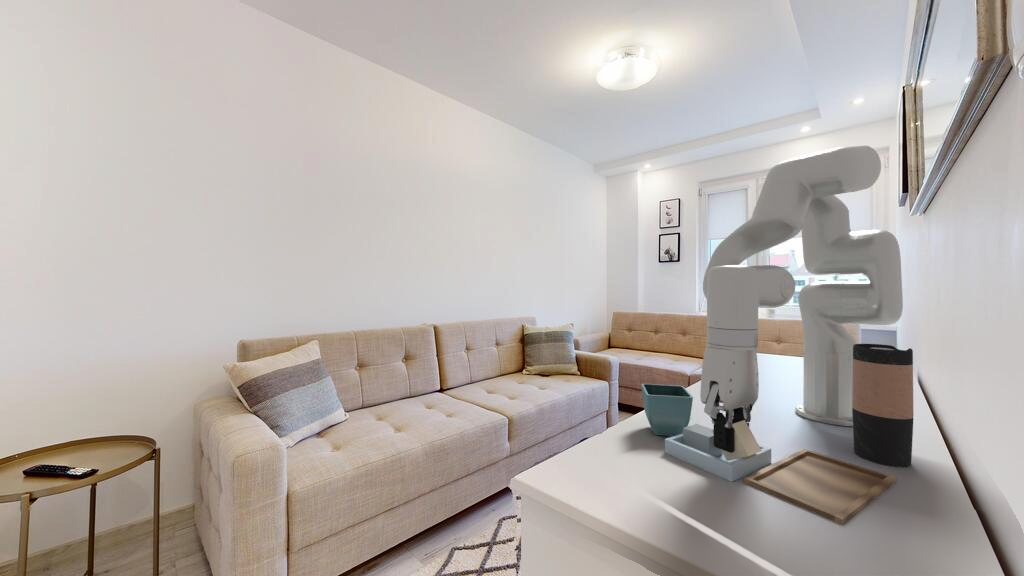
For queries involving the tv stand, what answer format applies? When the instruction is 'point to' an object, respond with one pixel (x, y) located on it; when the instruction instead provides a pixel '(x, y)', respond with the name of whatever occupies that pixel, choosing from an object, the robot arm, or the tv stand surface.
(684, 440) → the gray block
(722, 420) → the robot arm
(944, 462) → the tv stand surface
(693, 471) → the tv stand surface
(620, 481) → the tv stand surface
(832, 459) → the walnut tray
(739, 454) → the cream rectangular block
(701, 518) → the tv stand surface
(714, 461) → the light blue tray
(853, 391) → the travel mug
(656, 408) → the flower pot
